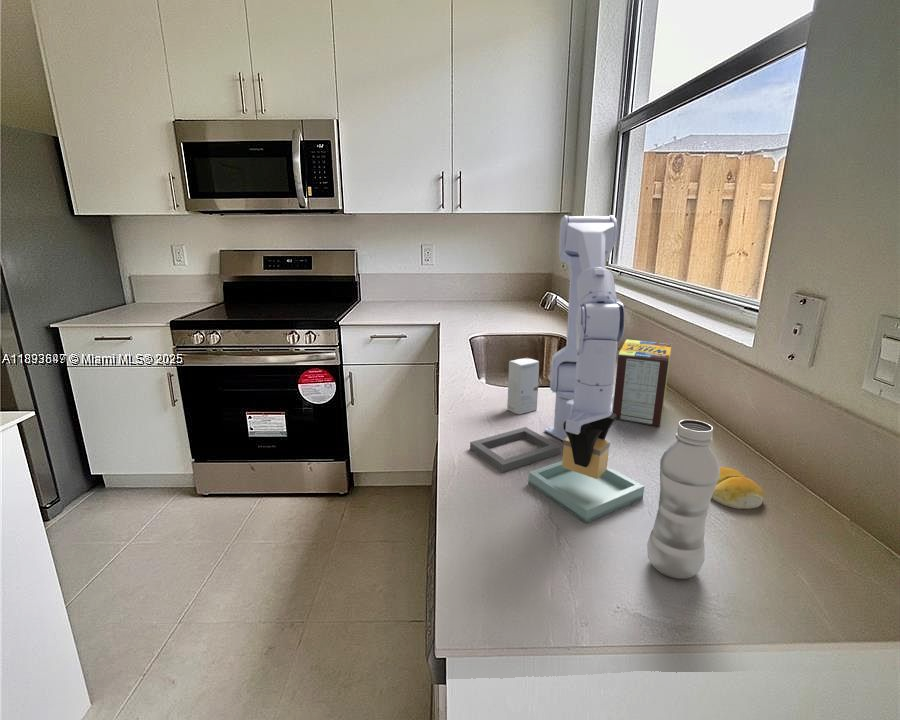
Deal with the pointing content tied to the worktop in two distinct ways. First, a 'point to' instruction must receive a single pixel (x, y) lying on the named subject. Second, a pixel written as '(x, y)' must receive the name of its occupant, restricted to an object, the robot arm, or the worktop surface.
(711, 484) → the plastic bottle
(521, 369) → the skincare box
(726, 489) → the bread roll
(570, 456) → the tan box
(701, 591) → the worktop surface
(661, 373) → the protein box
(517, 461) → the grey rectangular frame
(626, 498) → the parts tray
